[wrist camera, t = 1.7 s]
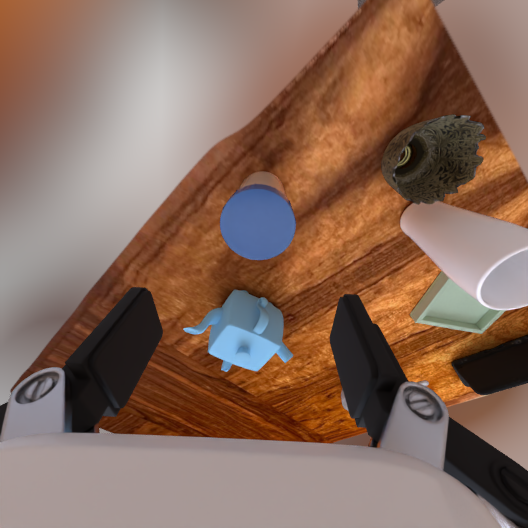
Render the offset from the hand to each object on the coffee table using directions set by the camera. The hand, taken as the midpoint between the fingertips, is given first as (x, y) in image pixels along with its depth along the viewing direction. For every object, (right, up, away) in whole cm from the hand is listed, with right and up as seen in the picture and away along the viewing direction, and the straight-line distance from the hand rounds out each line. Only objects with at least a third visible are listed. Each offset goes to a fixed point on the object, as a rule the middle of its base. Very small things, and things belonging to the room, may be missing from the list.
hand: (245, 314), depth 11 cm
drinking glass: (+22, +9, +20) cm, 31 cm away
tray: (+34, -2, +26) cm, 43 cm away
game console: (+47, -15, +34) cm, 59 cm away
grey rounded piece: (+17, +16, +16) cm, 28 cm away
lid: (0, +6, +10) cm, 11 cm away
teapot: (-2, -6, +30) cm, 31 cm away
